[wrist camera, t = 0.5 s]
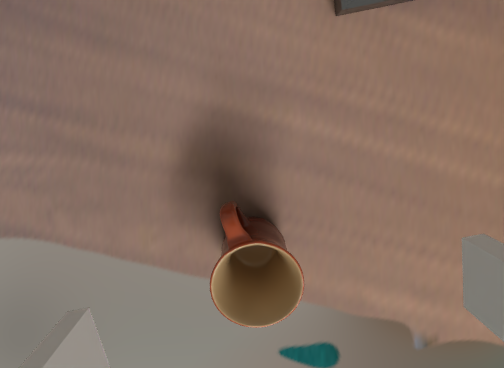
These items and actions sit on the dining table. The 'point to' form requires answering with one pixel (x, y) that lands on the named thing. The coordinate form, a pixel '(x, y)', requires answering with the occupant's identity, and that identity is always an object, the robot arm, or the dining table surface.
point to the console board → (361, 5)
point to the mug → (254, 272)
